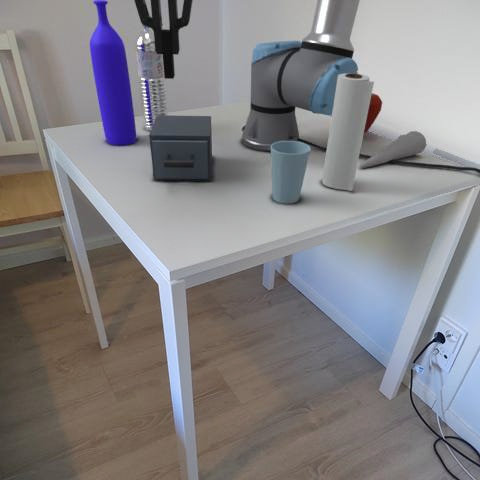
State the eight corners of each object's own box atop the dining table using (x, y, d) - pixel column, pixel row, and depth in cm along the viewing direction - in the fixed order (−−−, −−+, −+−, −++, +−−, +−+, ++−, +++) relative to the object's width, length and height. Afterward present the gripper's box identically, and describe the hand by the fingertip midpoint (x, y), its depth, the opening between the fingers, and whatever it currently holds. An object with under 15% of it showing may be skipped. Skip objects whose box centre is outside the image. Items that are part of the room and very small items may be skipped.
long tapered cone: (382, 158, 96) (427, 132, 105) (358, 153, 100) (404, 129, 109) (380, 182, 100) (424, 155, 109) (358, 177, 104) (401, 152, 113)
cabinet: (211, 180, 95) (210, 135, 88) (154, 180, 94) (149, 135, 88) (211, 157, 106) (211, 116, 99) (161, 156, 105) (156, 115, 99)
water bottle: (156, 123, 126) (146, 20, 110) (173, 128, 123) (165, 23, 107) (139, 128, 121) (126, 22, 105) (156, 133, 119) (145, 25, 102)
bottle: (130, 147, 110) (109, 2, 90) (100, 144, 111) (73, 1, 91) (142, 137, 116) (125, 0, 96) (113, 134, 117) (91, -2, 98)
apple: (381, 140, 119) (392, 92, 111) (346, 142, 116) (355, 94, 109) (363, 128, 127) (372, 83, 119) (330, 130, 124) (337, 84, 117)
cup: (259, 196, 89) (262, 145, 82) (285, 187, 93) (290, 137, 86) (285, 209, 85) (290, 156, 78) (311, 199, 88) (318, 148, 82)
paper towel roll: (320, 178, 97) (335, 71, 83) (346, 178, 97) (366, 72, 83) (323, 191, 92) (341, 79, 78) (351, 192, 92) (374, 80, 78)
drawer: (207, 188, 89) (206, 150, 84) (153, 187, 89) (148, 149, 84) (209, 156, 103) (208, 122, 98) (162, 156, 103) (158, 122, 98)
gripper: (204, -119, 59) (208, 73, 75) (110, -123, 59) (134, 71, 74) (203, -127, 54) (207, 82, 69) (98, -131, 53) (127, 81, 68)
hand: (169, 76), depth 72 cm, fingers closed
